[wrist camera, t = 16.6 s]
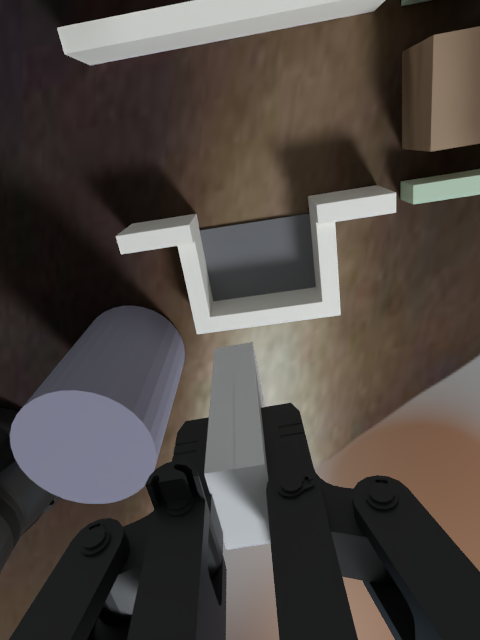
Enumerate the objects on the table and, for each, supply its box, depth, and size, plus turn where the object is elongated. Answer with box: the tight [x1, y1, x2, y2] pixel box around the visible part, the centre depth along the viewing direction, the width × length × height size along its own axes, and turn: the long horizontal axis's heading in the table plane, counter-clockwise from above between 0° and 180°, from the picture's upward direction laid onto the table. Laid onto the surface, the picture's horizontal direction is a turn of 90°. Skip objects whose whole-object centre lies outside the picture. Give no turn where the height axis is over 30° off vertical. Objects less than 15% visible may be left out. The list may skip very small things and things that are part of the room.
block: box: [402, 26, 480, 152], centre depth 30 cm, size 7×7×6 cm
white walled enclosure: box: [57, 0, 396, 334], centre depth 33 cm, size 22×24×5 cm
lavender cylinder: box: [10, 306, 185, 504], centre depth 36 cm, size 10×10×15 cm
